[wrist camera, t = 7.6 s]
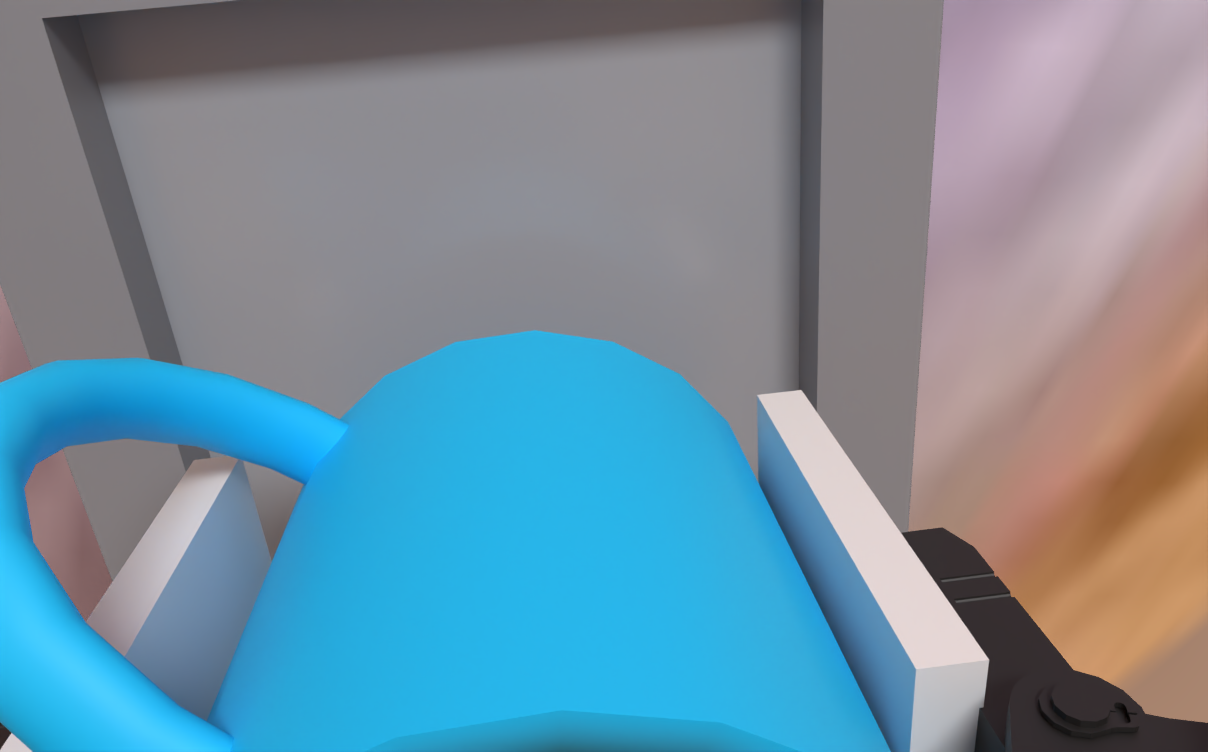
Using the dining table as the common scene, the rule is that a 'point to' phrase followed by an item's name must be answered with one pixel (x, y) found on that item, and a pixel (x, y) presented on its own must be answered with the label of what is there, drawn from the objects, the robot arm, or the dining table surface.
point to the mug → (448, 567)
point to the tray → (470, 202)
